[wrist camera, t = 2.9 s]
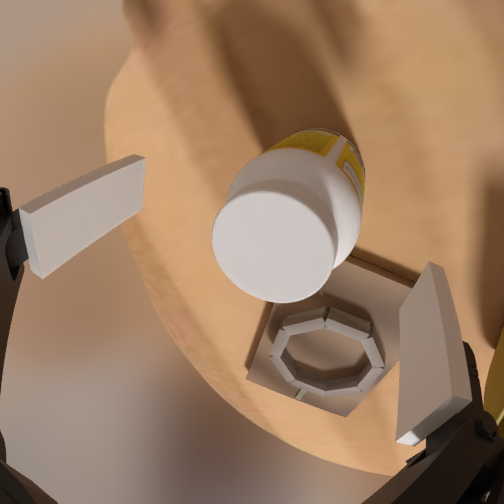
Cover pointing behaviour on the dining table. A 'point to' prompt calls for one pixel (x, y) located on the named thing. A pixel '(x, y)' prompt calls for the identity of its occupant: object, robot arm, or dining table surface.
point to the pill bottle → (291, 216)
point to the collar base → (334, 338)
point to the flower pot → (496, 386)
